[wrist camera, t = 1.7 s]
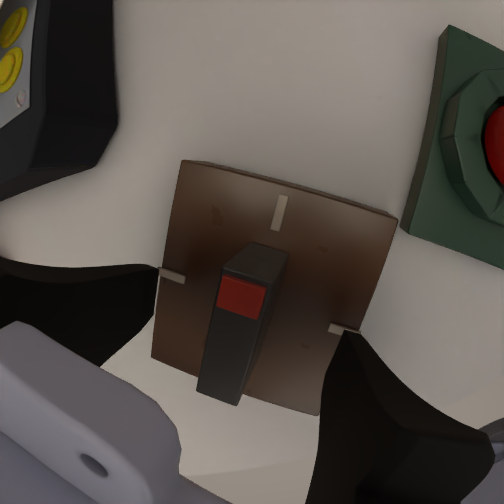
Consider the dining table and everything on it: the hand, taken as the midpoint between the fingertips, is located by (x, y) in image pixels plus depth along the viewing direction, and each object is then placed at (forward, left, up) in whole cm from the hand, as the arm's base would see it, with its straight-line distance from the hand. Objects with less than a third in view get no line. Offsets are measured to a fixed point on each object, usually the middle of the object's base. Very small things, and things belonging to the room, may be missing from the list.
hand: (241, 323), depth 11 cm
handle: (0, 0, -2) cm, 2 cm away
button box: (+9, -9, -5) cm, 14 cm away
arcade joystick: (+13, +23, -5) cm, 27 cm away
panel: (0, 0, -5) cm, 5 cm away
